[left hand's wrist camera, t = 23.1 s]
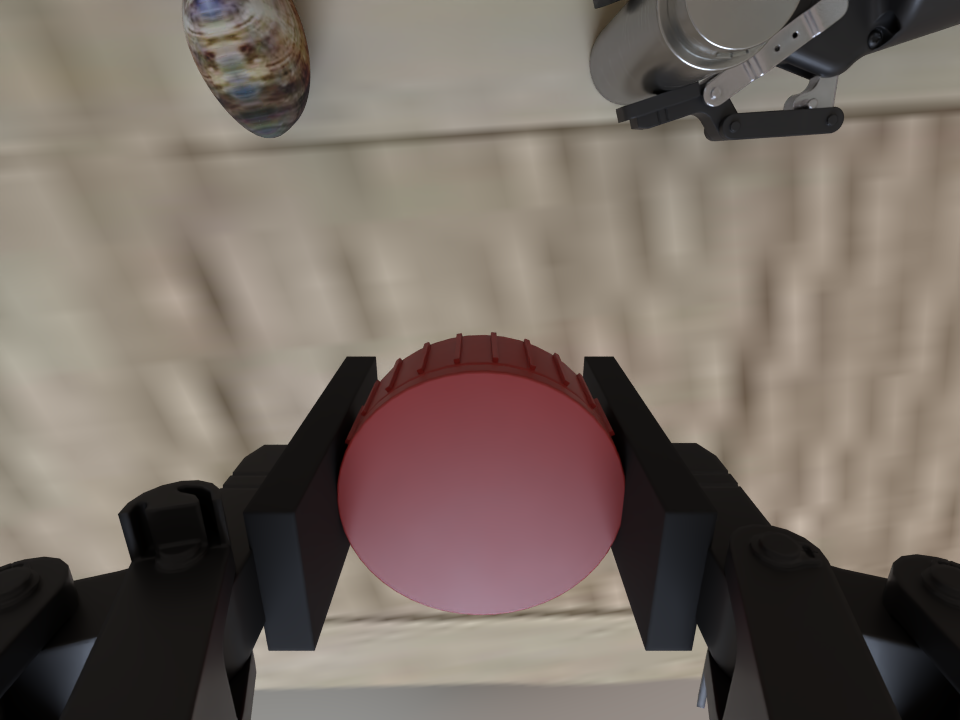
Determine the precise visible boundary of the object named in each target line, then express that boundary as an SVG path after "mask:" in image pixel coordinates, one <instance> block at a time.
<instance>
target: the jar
mask: <svg viewBox="0 0 960 720" xmlns="http://www.w3.org/2000/svg"><path fill="white" fill-rule="evenodd" d="M799 2H800V0H629V1H628V2H627V3H626V4H625V6H624V7H623V8H622V9H621V10H620V11H619V12H618V13H617V15H616V16H615V17H614V18H613V19H612V20H611V21H610V22H609V23H608V25H607V26H606V27H605V28H604V29H603V30H602V31H601V33H600V34H599V36H598V37H597V39H596V41H595V43H594V45H593V48H592V51H591V56H590V73H591V78H592V80H593V83H594V85H595V87H596V89H597V90H598V92H599V93H600V94H601V95H602V96H603V97H604V98H606V99H607V100H609V101H610V102H612V103H615V104H619V105H629V104H632V103H635V102H638V101H641V100H644V99H647V98H650V97H653V96H656V95H659V94H662V93H665V92H668V91H671V90H674V89H677V88H680V87H683V86H686V85H688V84H691V83H694V82H696V81H699V80H702V79H704V78H707V77H710V76H712V75H715V74H718V73H720V72H723V71H726V70H728V69H731V68H734V67H736V66H738V65H740V64H742V63H744V62H746V61H747V60H749V59H750V58H752V57H753V56H754V55H756V54H757V53H758V52H759V51H760V50H761V49H762V48H763V47H764V46H765V45H766V44H767V42H768V41H769V40H770V39H771V38H772V37H773V36H774V35H775V34H777V33H778V32H779V31H780V30H781V29H782V28H783V27H784V26H785V24H786V23H787V22H788V21H789V19H790V18H791V16H792V15H793V13H794V11H795V10H796V8H797V6H798V4H799Z"/></svg>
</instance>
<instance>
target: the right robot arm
mask: <svg viewBox="0 0 960 720" xmlns="http://www.w3.org/2000/svg"><path fill="white" fill-rule="evenodd" d="M617 1H620V0H593V3H594V8H600V7H603V6H606V5H609V4H612V3H614V2H617ZM958 24H960V0H800V2H799V4H798V6H797V8H796V10H795V11H794V13H793V15H792V16H791V18H790V19H789V21H788V22H787V23H786V24H785V26H784V27H783V28H782V29H781V30H780V31H779V32H778V33H777V34H775V35H774V36H773V37H772V38H771V39H770V40H769V41H768V42H767V44H766V45H765V46H764V47H763V48H762V49H761V50H760V51H759V52H758V53H757V54H756V55H754V56H753V57H752V58H750V59H749V60H747V61H746V62H744V63H742V64H740V65H738V66H736V67H734V68H731V69H728V70H726V71H723V72H720V73H718V74H715V75H712V76H710V77H707V78H705V79H704V80H703V81H701V82H700V83H699V82H698V81H697V82H694V83H691V84H688V85H686V86H683V87H680V88H677V89H674V90H671V91H668V92H665V93H662V94H659V95H656V96H653V97H650V98H647V99H644V100H641V101H638V102H635V103H632V104H629V105H626V106H623V107H621V108H618V109H616V113H617V118H618V123H620V122H623V121H627V120H630V124H631V129H637V130H643V129H648V128H651V127H655V126H658V125H660V124H664V123H667V122H670V121H673V120H676V119H679V118H682V117H685V116H688V115H694V116H696V117H697V118H698V119H699V120H700V121H701V123H702V125H703V126H704V134H705V136H706V138H707V139H708V140H710V141H724V140H740V139H755V138H770V137H785V136H801V135H814V134H826V133H833V132H835V131H837V130H838V129H839V128H840V127H841V125H842V123H843V121H844V114H843V112H842V110H841V109H840V108H838V107H834V101H835V95H836V88H837V82H838V75H840V74H841V73H843V72H845V71H846V70H847V69H848V68H849V67H850V66H851V65H852V64H853V63H854V62H856V61H857V60H858V59H860V58H861V57H863V56H865V55H867V54H870V53H873V52H876V51H879V50H882V49H885V48H888V47H891V46H894V45H897V44H900V43H903V42H906V41H909V40H912V39H916V38H919V37H922V36H925V35H928V34H931V33H934V32H937V31H940V30H943V29H946V28H949V27H952V26H955V25H958ZM775 66H776V67H779V68H781V69H784V70H786V71H789V72H791V73H794V74H796V75H799V76H801V77H804V78H806V79H809V80H810V81H809V84H808V86H807V88H806V89H805V90H804V91H803V92H801V93H799V94H795V95H792V96H791V97H789V98H788V99H787V101H786V102H785V104H784V108H783V110H780V111H765V112H750V113H737V111H736V109H735V107H734V106H733V104H732V102H731V100H730V97H732V96H733V95H734V94H736V93H737V92H738V91H740V90H741V89H742V88H744V87H745V86H746V85H748V84H749V83H750V82H752V81H753V80H755V79H757V78H759V77H761V76H762V75H764V74H765V73H767V72H768V71H769V70H771V69H772V68H773V67H775Z"/></svg>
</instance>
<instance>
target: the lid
mask: <svg viewBox="0 0 960 720" xmlns="http://www.w3.org/2000/svg"><path fill="white" fill-rule="evenodd" d="M613 435H615V434H614V432H613V430H612V428H611V426H610V423H609V421H608V419H607V417H606V415H605V413H604V411H603V409H602V407H601V405H600V403H599V401H598V399H597V398H595V399H593V397H592V395H591V393H590V391H589V389H588V387H587V385H586V383H585V380H584V378H583V376H582V375H581V374H580V373H579V374H578V375H576V374H575V373H574V372H573V371H572V370H571V369H570V368H569V367H568V366H567V365H566V364H564V363H563V362H562V361H561V359H560V357H559V355H558V354H556V353H554V355H552V354H550V353H548V352H546V351H544V350H542V349H540V348H538V347H536V346H534V345H531V344H530V341H529V340H527V339H524V342H523V341H520V340H516V339H511V338H507V337H501V336H497V335H496V333H494V332H491V336H490V335H472V336H463V337H462V333H460V334H457V336H456V338H451V339H447V340H444V341H440V342H437V343H434V344H431V345H430V343H429V342H428V343H425V344H424V347H423V348H422V349H420V350H418V351H416V352H415V353H413V354H411V355H410V356H408V357H406V358H405V359H404V360H402V359H401V358H399V359H398V360H397V361H396V363H395V365H394V368H392V369H391V371H390V372H389V373H388V374H387V375H386V376H385V377H384V378H383V379H382V380H381V382H380V381H379V380H377V381H376V382H375V383H374V386H373V388H372V390H371V392H370V394H369V396H368V398H367V401H366V403H365V405H364V406H362V407H361V409H360V411H359V413H358V415H357V417H356V419H355V422H354V424H353V426H352V428H351V430H350V432H349V434H348V436H347V438H346V441H345V443H346V444H348V446H347V448H346V451H345V453H344V456H343V459H342V462H341V465H340V469H339V475H338V481H337V503H338V509H339V516H340V519H341V522H342V526H343V529H344V532H345V534H346V536H347V538H348V540H349V542H350V544H351V546H352V548H353V549H354V551H355V552H356V554H357V555H358V557H359V558H360V560H361V561H362V562H363V563H364V564H365V566H366V567H367V568H368V569H369V570H370V571H371V572H372V573H373V574H374V575H375V576H376V577H377V578H379V579H380V580H381V581H382V582H383V583H385V584H386V585H387V586H389V587H390V588H392V589H393V590H395V591H396V592H398V593H400V594H402V595H403V596H405V597H407V598H409V599H411V600H413V601H416V602H418V603H421V604H423V605H426V606H429V607H432V608H436V609H439V610H443V611H448V612H453V613H459V614H471V615H494V614H502V613H510V612H515V611H519V610H524V609H528V608H531V607H534V606H537V605H540V604H543V603H545V602H547V601H549V600H551V599H554V598H556V597H558V596H560V595H561V594H563V593H565V592H566V591H568V590H570V589H571V588H573V587H574V586H575V585H577V584H578V583H579V582H581V581H582V580H583V579H584V578H586V577H587V576H588V575H589V574H590V573H591V572H592V571H593V570H594V569H595V568H596V567H597V566H598V564H599V563H600V562H601V561H602V559H603V558H604V557H605V555H606V554H607V553H608V551H609V549H610V547H611V546H612V544H613V542H614V540H615V539H616V536H617V534H618V531H619V528H620V526H621V518H622V510H623V501H624V492H625V474H624V470H623V466H622V462H621V458H620V456H619V454H618V451H617V449H616V446H615V444H614V442H613V440H612V438H611V436H613Z"/></svg>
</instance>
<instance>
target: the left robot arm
mask: <svg viewBox="0 0 960 720" xmlns="http://www.w3.org/2000/svg"><path fill="white" fill-rule="evenodd" d="M583 378H584V380H585V383H586V385H587V387H588V389H589V391H590V393H591V395H592V397H593V399H595V398H597V399H598V401H599V403H600V405H601V407H602V409H603V411H604V413H605V415H606V417H607V419H608V421H609V423H610V426H611V428H612V430H613V432H614V434H615V435H613V436H611V438H612V440H613V442H614V444H615V446H616V449H617V451H618V454H619V456H620V458H621V462H622V466H623V470H624V474H625V492H624V501H623V510H622V518H621V526H620V528H619V531H618V534H617V536H616V539H615V540H614V542H613V544H612V546H611V549H612V552H613V555H614V558H615V561H616V564H617V567H618V570H619V573H620V575H621V578H622V581H623V584H624V587H625V590H626V593H627V596H628V599H629V602H630V605H631V608H632V611H633V614H634V617H635V620H636V623H637V626H638V629H639V632H640V635H641V638H642V641H643V644H644V647H645V650H646V651H692V647H693V641H694V636H695V631H696V625H698V627H699V629H700V631H701V633H702V635H703V638H704V640H705V642H706V644H707V646H708V650H707V654H706V659H705V664H704V669H703V674H702V679H701V684H700V689H699V694H698V702H697V707H701V708H704V707H705V702H706V698H707V702H708V711H709V719H710V720H960V564H958V563H955V562H953V561H948V560H946V559H942V558H938V557H932V556H925V555H918V554H915V555H907V556H901V557H900V558H899V559H897V560H896V561H895V562H893V565H892V567H891V570H890V573H889V576H888V579H887V578H882V577H878V576H873V575H868V574H864V573H859V572H854V571H850V570H845V569H841V568H837V567H834V566H831V565H830V563H829V561H828V560H827V558H826V557H825V556H824V554H823V553H822V552H821V550H820V549H819V548H817V547H816V546H815V545H813V544H812V543H811V542H809V541H808V540H807V539H805V538H804V537H802V536H799V535H797V534H795V533H793V532H791V531H789V530H786V529H782V528H779V527H775V526H771V525H770V523H769V522H768V521H767V520H766V518H765V517H764V516H763V514H762V513H761V512H760V511H759V509H758V508H757V507H756V506H755V504H754V503H753V502H752V501H751V499H750V498H749V497H748V496H747V494H746V493H745V492H744V490H743V489H742V488H741V487H740V486H738V483H737V482H736V480H735V479H734V478H733V477H732V475H731V474H728V470H727V469H726V468H725V466H724V465H723V464H722V463H721V461H720V460H719V459H718V458H717V456H716V455H714V454H712V453H711V452H709V451H708V450H706V449H705V448H703V447H702V446H700V445H698V444H697V443H671V442H670V440H669V439H668V437H667V436H666V434H665V433H664V431H663V430H662V428H661V427H660V425H659V424H658V422H657V421H656V419H655V418H654V416H653V415H652V413H651V412H650V410H649V409H648V407H647V406H646V404H645V403H644V401H643V400H642V398H641V397H640V395H639V394H638V392H637V391H636V389H635V388H634V386H633V385H632V384H631V382H630V381H629V379H628V378H627V376H626V375H625V373H624V372H623V370H622V369H621V367H620V366H619V364H618V363H617V361H616V360H615V358H614V357H584V370H583ZM377 380H378V379H377V366H376V357H346V359H345V360H344V362H343V363H342V365H341V366H340V368H339V369H338V371H337V372H336V374H335V375H334V377H333V378H332V380H331V381H330V383H329V384H328V386H327V387H326V389H325V390H324V391H323V393H322V394H321V396H320V397H319V399H318V400H317V402H316V403H315V405H314V406H313V408H312V409H311V411H310V412H309V414H308V415H307V417H306V418H305V420H304V421H303V423H302V424H301V426H300V427H299V429H298V430H297V432H296V433H295V435H294V436H293V438H292V439H291V441H290V442H289V444H288V445H263V446H262V447H260V448H259V449H257V450H256V451H254V452H253V453H251V454H249V455H248V456H246V457H245V458H244V459H243V460H242V462H241V463H240V464H239V465H238V467H237V468H236V469H235V470H234V472H233V476H230V477H229V478H228V479H227V481H226V482H225V483H224V484H223V488H220V489H219V488H218V487H216V486H215V485H214V484H213V483H209V482H204V481H200V480H193V481H179V482H175V483H170V484H166V485H162V486H159V487H157V488H155V489H152V490H150V491H147V492H145V493H143V494H141V495H140V496H138V497H136V498H135V499H133V500H132V501H130V502H129V503H127V505H126V506H125V507H124V508H123V509H122V510H121V511H120V513H119V514H118V516H119V519H120V523H121V526H122V530H123V533H124V537H125V540H126V544H127V547H128V551H129V554H130V557H131V561H132V562H131V564H130V566H129V568H128V569H125V570H121V571H117V572H112V573H108V574H103V575H98V576H94V577H89V578H84V579H80V580H75V581H73V578H72V575H71V572H70V569H69V566H68V565H67V564H66V563H65V562H64V561H62V560H61V559H59V558H51V557H39V558H31V559H24V560H21V561H17V562H14V563H12V564H11V563H10V564H7V565H4V566H2V567H0V720H251V712H252V704H253V695H254V687H255V679H256V666H255V659H254V655H253V648H254V646H255V643H256V641H257V639H258V637H259V635H260V633H261V630H262V628H263V626H264V629H265V634H266V639H267V645H268V650H269V651H315V648H316V645H317V642H318V639H319V636H320V633H321V630H322V627H323V624H324V621H325V618H326V615H327V612H328V609H329V606H330V603H331V600H332V597H333V594H334V591H335V588H336V585H337V582H338V579H339V576H340V573H341V571H342V568H343V565H344V562H345V559H346V556H347V553H348V550H349V547H350V542H349V540H348V538H347V536H346V534H345V532H344V529H343V526H342V522H341V519H340V516H339V509H338V503H337V481H338V475H339V469H340V465H341V462H342V459H343V456H344V453H345V451H346V448H347V446H348V444H346V443H345V441H346V438H347V436H348V434H349V432H350V430H351V428H352V426H353V424H354V422H355V419H356V417H357V415H358V413H359V411H360V409H361V407H362V406H364V405H365V403H366V401H367V398H368V396H369V394H370V392H371V390H372V388H373V386H374V383H375V382H376V381H377Z"/></svg>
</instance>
